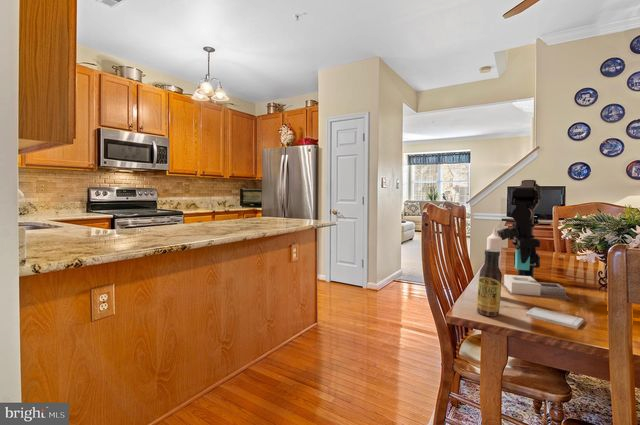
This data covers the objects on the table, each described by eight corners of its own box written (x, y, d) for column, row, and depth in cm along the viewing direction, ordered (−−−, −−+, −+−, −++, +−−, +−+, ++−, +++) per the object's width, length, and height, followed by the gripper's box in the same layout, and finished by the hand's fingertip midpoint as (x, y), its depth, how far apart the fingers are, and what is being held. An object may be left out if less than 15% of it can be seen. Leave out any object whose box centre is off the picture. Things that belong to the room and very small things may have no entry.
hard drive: (525, 312, 98) (577, 325, 88) (534, 306, 103) (584, 317, 93) (525, 317, 98) (577, 331, 88) (534, 311, 103) (583, 323, 94)
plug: (514, 267, 122) (515, 249, 122) (526, 268, 121) (527, 250, 121) (516, 269, 120) (517, 250, 119) (529, 270, 118) (530, 251, 118)
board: (501, 285, 130) (501, 282, 130) (555, 289, 124) (555, 287, 124) (511, 297, 115) (511, 294, 115) (573, 303, 109) (573, 300, 109)
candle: (500, 296, 116) (503, 227, 114) (506, 303, 109) (509, 229, 107) (479, 295, 118) (481, 227, 116) (483, 301, 111) (485, 229, 109)
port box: (503, 284, 128) (504, 274, 128) (530, 286, 125) (530, 276, 125) (511, 293, 117) (511, 282, 116) (540, 295, 114) (540, 284, 113)
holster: (533, 288, 122) (534, 281, 122) (558, 290, 120) (558, 283, 120) (539, 293, 116) (540, 286, 116) (565, 295, 114) (565, 288, 113)
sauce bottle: (473, 313, 99) (475, 249, 98) (480, 308, 104) (482, 247, 103) (496, 319, 95) (498, 252, 94) (503, 314, 99) (505, 250, 98)
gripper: (494, 218, 131) (493, 256, 132) (504, 222, 113) (503, 266, 114) (525, 219, 127) (524, 258, 128) (541, 223, 110) (539, 268, 110)
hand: (522, 262), depth 120 cm, fingers closed on plug, 3 cm apart
